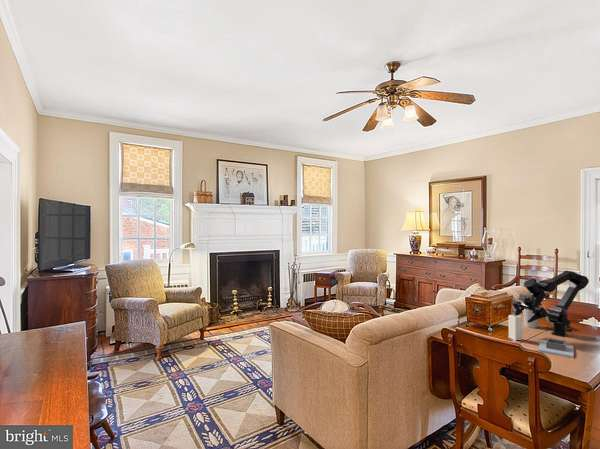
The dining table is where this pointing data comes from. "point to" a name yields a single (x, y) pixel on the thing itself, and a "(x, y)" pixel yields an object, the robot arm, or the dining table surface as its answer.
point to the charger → (515, 327)
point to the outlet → (556, 347)
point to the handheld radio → (552, 323)
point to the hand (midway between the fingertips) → (520, 319)
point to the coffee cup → (526, 316)
